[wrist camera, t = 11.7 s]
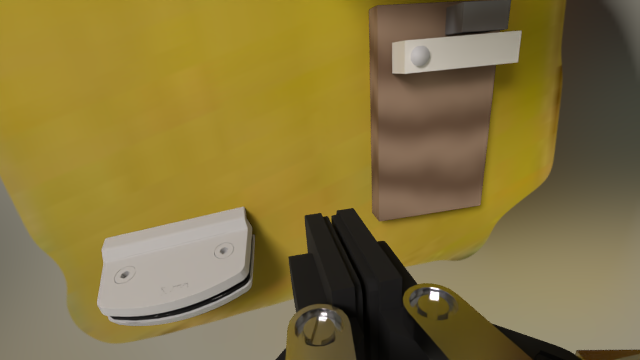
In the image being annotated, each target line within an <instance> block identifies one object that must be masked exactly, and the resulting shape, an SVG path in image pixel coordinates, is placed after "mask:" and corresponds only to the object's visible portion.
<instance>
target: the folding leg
mask: <svg viewBox="0 0 640 360" xmlns="http://www.w3.org/2000/svg"><path fill="white" fill-rule="evenodd" d="M521 33H522V31H510V32H498V33H487V34H475V35H463V36H451V37H440V38H428V39H416V40H405V41H399V42H394V43H392V73H396V74H408V73H418V72H427V71H437V70H447V69H457V68H467V67H477V66H486V65H496V64H506V63H516V62H518V58H519V49H520V41H521Z"/></svg>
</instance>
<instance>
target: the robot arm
mask: <svg viewBox="0 0 640 360" xmlns="http://www.w3.org/2000/svg"><path fill="white" fill-rule="evenodd" d="M305 227H306V237H307V247H308V254H302V255H296V256H290V257H289V266H290V274H291V282H292V289H293V296H294V302H295V308H296V314H294V316H293V317H292V319H291V320H290V322H289V325H288V330H287V345H286V349H285V350H284V351H283V352H282V353H281V354H280V355H279V357H278V358H277V359H276V360H640V350H577V351H576V353H575V354H573V353H571V352H570V351H567V350H565V349H563V348H561V347H558V346H556V345H553V344H550V343H547V342H544V341H541V340H538V339H535V338H532V337H530V336H527V335H523V334H521V333H518V332H515V331H512V330H509V329H506V328H503V327H500V326H497V325H494V324H492V323H490V322H489V321H487V320H486V319H485V318H484V317H483V316H482V315H481V314H480V313H478V312H477V311H476V310H475V309H474V308H473V307H472V306H470V305H469V304H468V303H467V302H466V301H465V300H463V299H462V298H461V297H460V296H459V295H458V294H456V293H455V292H453V291H452V290H450V289H448V288H446V287H443V286H441V285H436V284H428V283H426V284H425V283H423V284H417V283H416V282H415V280H414V279H413V278H412V276H411V275H410V274H409V272H408V271H407V270H406V268H405V267H404V266H403V264H402V263H401V262H400V260H399V259H398V258H397V256H396V255H395V254H394V252H393V251H392V250H391V248H390V247H389V246H388V244H387V243H386V242H385V241H378V242H377V241H376V240H375V238H374V237H373V236H372V234H371V233H370V231H369V230H368V228H367V227H366V226H365V224H364V223H363V221H362V220H361V218H360V217H359V216H358V214H357V213H356V211H355V210H354V209H353V208H351V209H345V210H338V211H337V214H336V215H333V216H332V224H331V222H330V220H329V218H328V216H326V217H323V216H322V214H321V213H318V214H311V215H305Z"/></svg>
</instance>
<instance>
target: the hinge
mask: <svg viewBox="0 0 640 360" xmlns="http://www.w3.org/2000/svg"><path fill="white" fill-rule="evenodd" d="M254 247H255V234H254V235H252V226H251V224H250V223H249V221H248V220H247V218H246V210H245V208H244V207H240V208H236V209H232V210H227V211H223V212H219V213H214V214H210V215H206V216H201V217H197V218H193V219H188V220H184V221H180V222H175V223H171V224H166V225H162V226H158V227H153V228H149V229H145V230H140V231H136V232H132V233H127V234H123V235H119V236H114V237H110V238H106V239H105V241H104V244H103V247H102V256H103V262H104V264H103V270H102V276H101V282H100V288H99V294H98V300H97V305H98V307H99V309H100V310H101V312H102V314H104V315H106V316H108V319H109V320H110V321H112V322H114V323H117V324H119V325H129V326H147V325H158V324H165V323H171V322H176V321H180V320H184V319H187V318H191V317H194V316H197V315H200V314H203V313H205V312H208V311H210V310H213V309H215V308H218V307H220V306H222V305H224V304H226V303H228V302H230V301H232V300H233V299H235V298H237V297H239V296H240V295H242V294H244V293H245V292H247V291H248V290H249V289H250V288H251V286H252V279H253V263H254Z"/></svg>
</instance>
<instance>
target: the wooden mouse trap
mask: <svg viewBox="0 0 640 360" xmlns="http://www.w3.org/2000/svg"><path fill="white" fill-rule="evenodd" d="M510 4H511V0H477V1H457V2H437V3H416V4H396V5H377V6H375V7H373V8H371V9H369V38H370V98H371V158H372V213H373V214H374V216H375V217H376V218H377V219H378V220H379V221H385V220H391V219H397V218H404V217H410V216H416V215H422V214H429V213H435V212H441V211H448V210H454V209H460V208H466V207H473V206H479V205H480V204H481V195H482V186H483V177H484V168H485V159H486V149H487V140H488V131H489V122H490V113H491V104H492V95H493V86H494V77H495V68H496V65H486V66H477V67H467V68H457V69H447V70H437V71H427V72H418V73H408V74H396V73H392V43H394V42H399V41H405V40H416V39H428V38H440V37H451V36H463V35H475V34H487V33H498V32H500V30H504V29H508V21H509V12H510Z"/></svg>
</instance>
